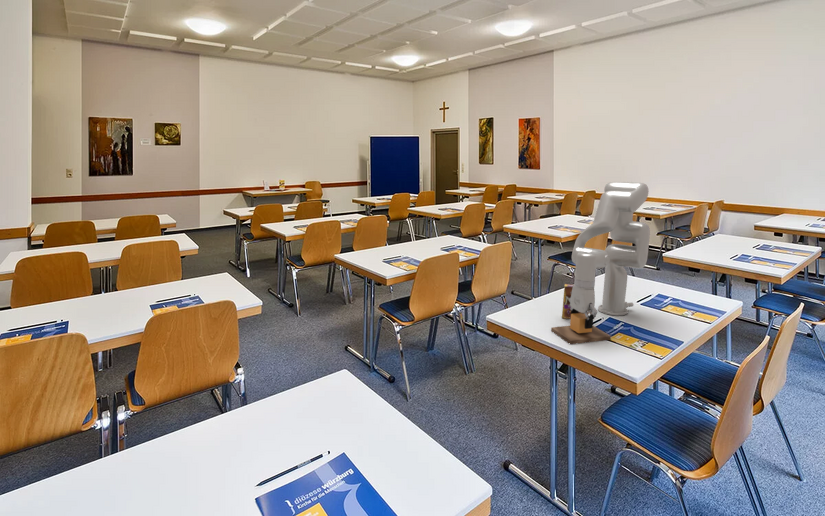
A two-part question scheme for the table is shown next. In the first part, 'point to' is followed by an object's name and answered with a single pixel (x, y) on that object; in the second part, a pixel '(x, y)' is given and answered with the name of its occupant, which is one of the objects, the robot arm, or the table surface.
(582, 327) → the tan wooden cube
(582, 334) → the post board
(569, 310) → the candy box
